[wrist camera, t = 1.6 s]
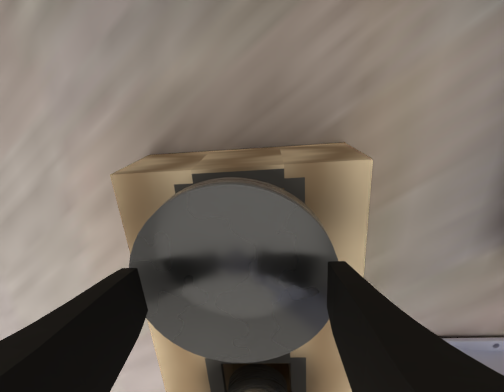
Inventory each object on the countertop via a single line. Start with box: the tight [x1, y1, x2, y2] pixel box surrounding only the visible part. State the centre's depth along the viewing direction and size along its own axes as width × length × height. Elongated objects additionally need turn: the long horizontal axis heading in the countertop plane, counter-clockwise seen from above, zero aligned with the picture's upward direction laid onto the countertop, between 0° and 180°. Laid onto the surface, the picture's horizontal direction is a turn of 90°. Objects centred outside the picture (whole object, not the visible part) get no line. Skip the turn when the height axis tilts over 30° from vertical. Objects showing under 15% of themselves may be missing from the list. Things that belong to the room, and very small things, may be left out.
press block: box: [110, 143, 373, 392], centre depth 19 cm, size 13×19×5 cm
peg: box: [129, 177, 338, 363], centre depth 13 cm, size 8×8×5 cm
